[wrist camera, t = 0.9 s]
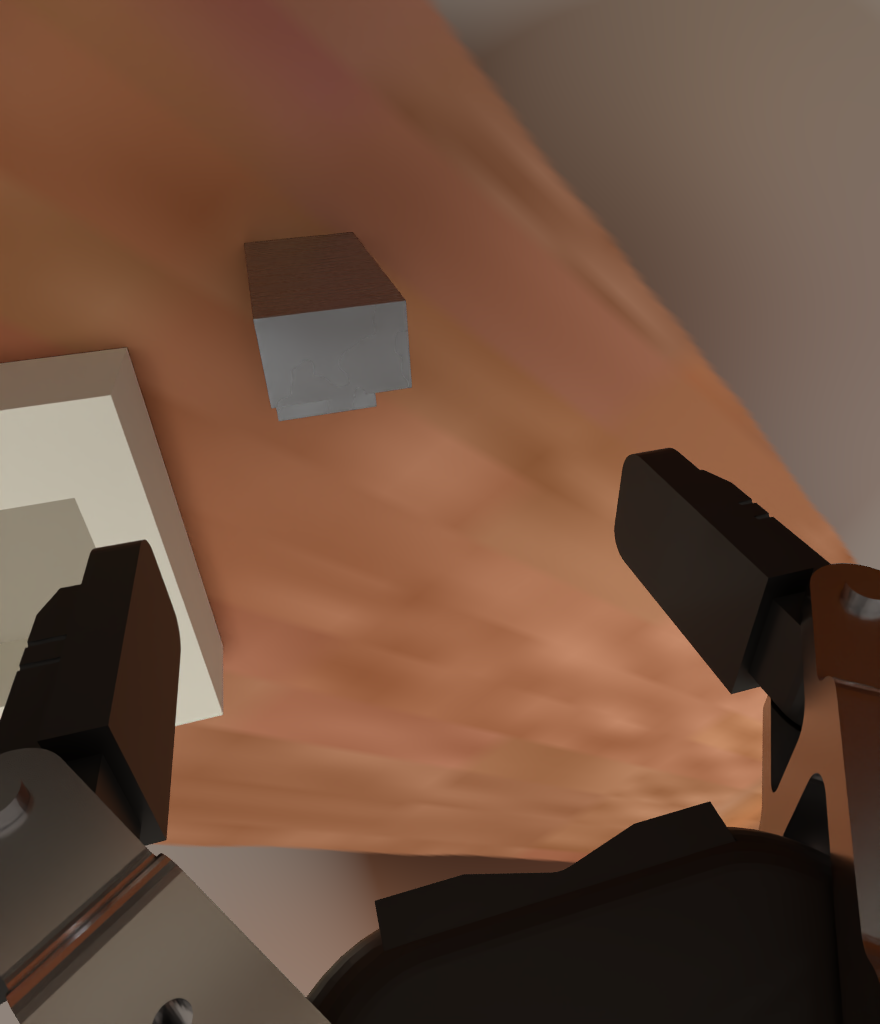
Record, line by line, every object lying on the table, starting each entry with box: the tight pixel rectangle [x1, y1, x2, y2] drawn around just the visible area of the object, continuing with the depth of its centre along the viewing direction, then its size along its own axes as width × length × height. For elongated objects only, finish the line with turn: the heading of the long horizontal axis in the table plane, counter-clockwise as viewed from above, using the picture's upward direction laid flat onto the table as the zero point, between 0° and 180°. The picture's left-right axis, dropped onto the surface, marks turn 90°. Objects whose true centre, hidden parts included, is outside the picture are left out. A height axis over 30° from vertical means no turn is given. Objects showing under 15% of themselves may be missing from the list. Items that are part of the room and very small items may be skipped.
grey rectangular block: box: [244, 232, 412, 421], centre depth 23 cm, size 6×4×9 cm, turn 3°
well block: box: [0, 347, 223, 726], centre depth 26 cm, size 16×12×4 cm
